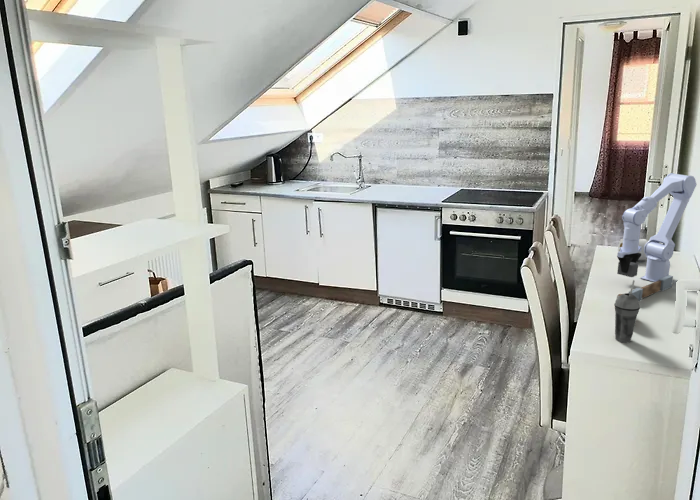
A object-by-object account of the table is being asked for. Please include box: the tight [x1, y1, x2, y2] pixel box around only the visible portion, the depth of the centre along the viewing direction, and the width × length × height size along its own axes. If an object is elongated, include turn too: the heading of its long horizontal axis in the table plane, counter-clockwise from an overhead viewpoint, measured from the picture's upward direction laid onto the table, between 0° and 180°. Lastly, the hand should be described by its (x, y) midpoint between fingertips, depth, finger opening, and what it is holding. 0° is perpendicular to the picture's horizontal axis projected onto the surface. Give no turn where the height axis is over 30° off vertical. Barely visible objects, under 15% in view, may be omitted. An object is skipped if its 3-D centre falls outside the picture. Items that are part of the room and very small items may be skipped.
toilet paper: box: [617, 238, 649, 262], centre depth 256 cm, size 10×10×10 cm
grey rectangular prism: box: [617, 261, 639, 278], centre depth 224 cm, size 4×6×5 cm, turn 35°
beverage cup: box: [614, 279, 641, 344], centre depth 174 cm, size 7×7×20 cm
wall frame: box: [628, 274, 674, 302], centre depth 214 cm, size 30×2×4 cm, turn 125°
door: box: [640, 280, 661, 299], centre depth 213 cm, size 15×1×4 cm, turn 125°
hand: (627, 271), depth 224 cm, fingers closed on grey rectangular prism, 4 cm apart
